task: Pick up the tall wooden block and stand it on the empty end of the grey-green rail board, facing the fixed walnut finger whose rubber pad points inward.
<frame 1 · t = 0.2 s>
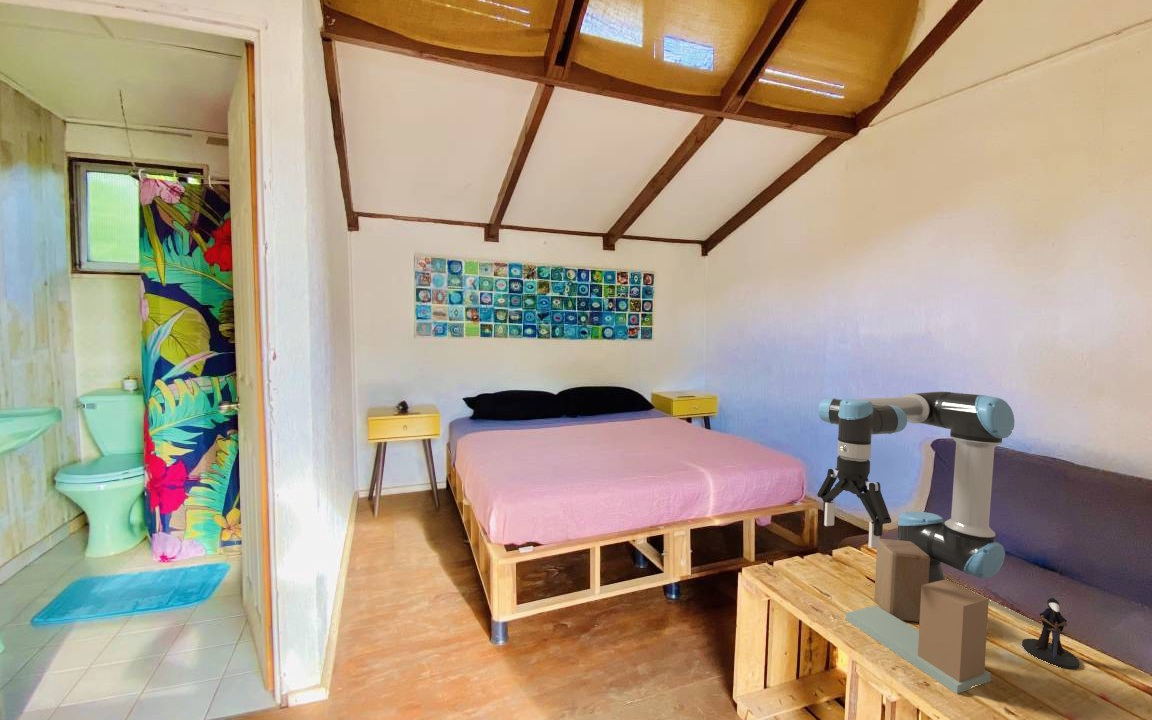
hand: (850, 535, 118), 28 cm above the table, fingers open, 13 cm apart
rail: (911, 647, 115), on the table
figurine: (1049, 655, 114), on the table
wooden block: (899, 612, 131), on the table
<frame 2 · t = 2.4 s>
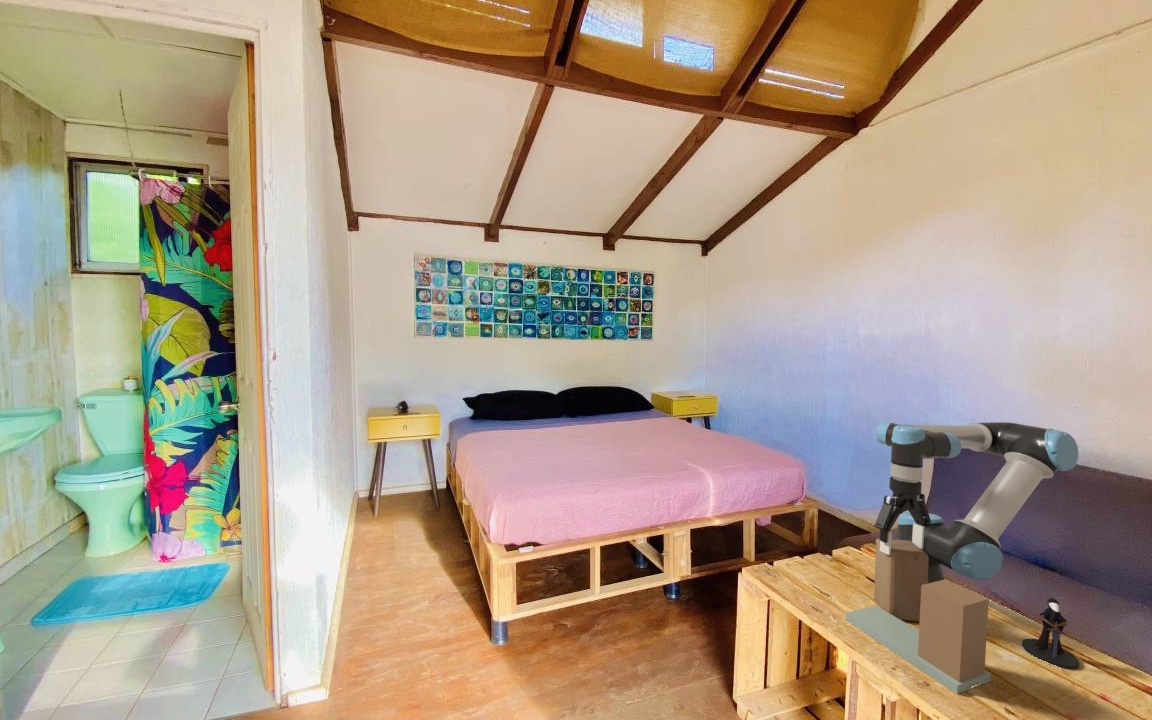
hand: (901, 549, 130), 19 cm above the table, fingers open, 13 cm apart
wooden block: (899, 612, 131), on the table, touching gripper
everything else where it was.
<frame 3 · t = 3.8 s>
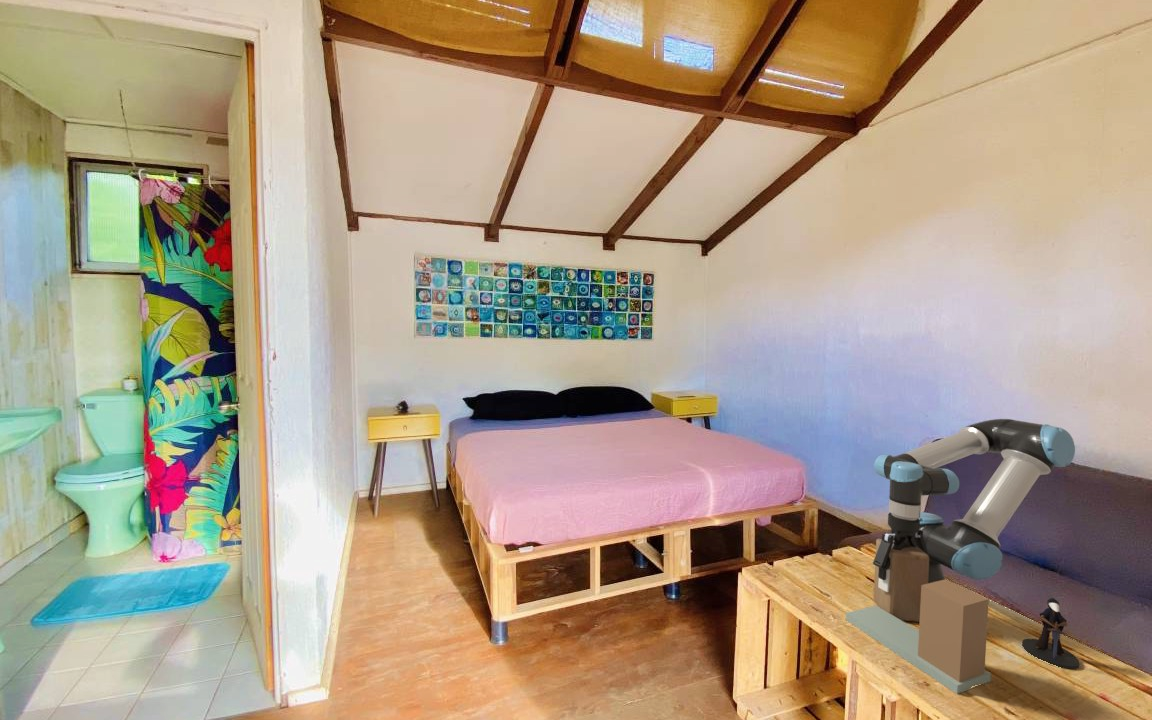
hand: (899, 586, 131), 8 cm above the table, fingers closed on wooden block, 13 cm apart
wooden block: (898, 612, 131), on the table, touching gripper
everything else where it was.
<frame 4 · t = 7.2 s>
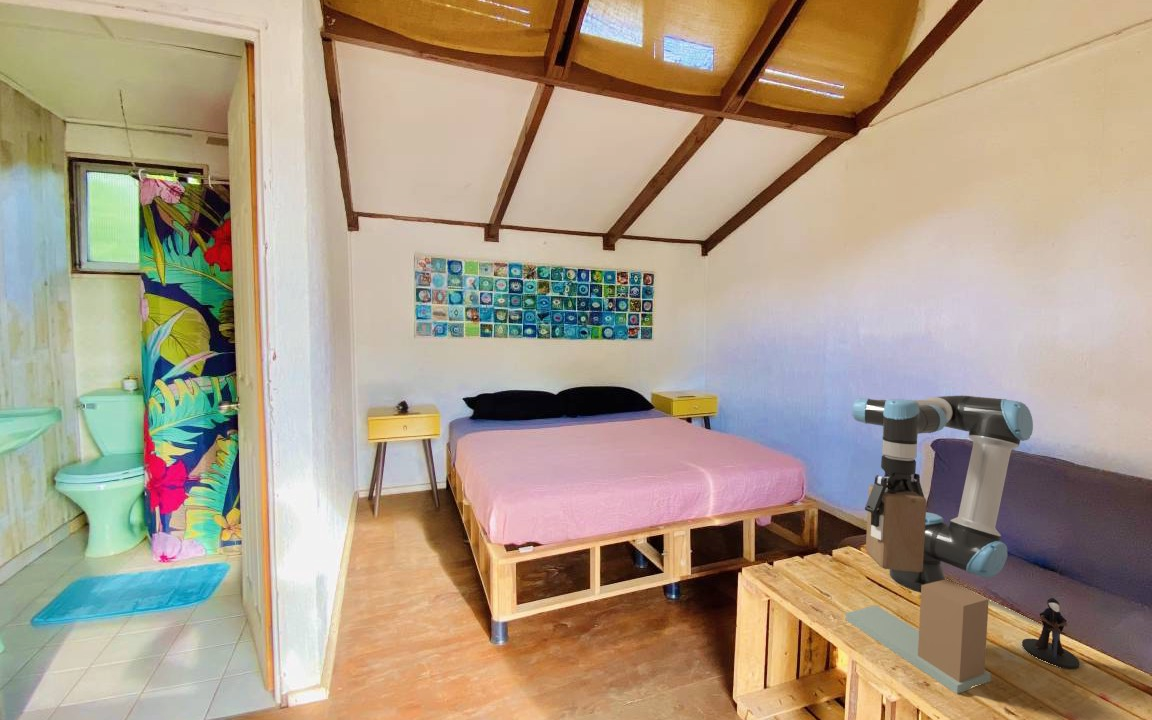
hand: (894, 534, 119), 28 cm above the table, fingers closed on wooden block, 13 cm apart
wooden block: (892, 563, 120), point 20 cm above the table, touching gripper
everything else where it was.
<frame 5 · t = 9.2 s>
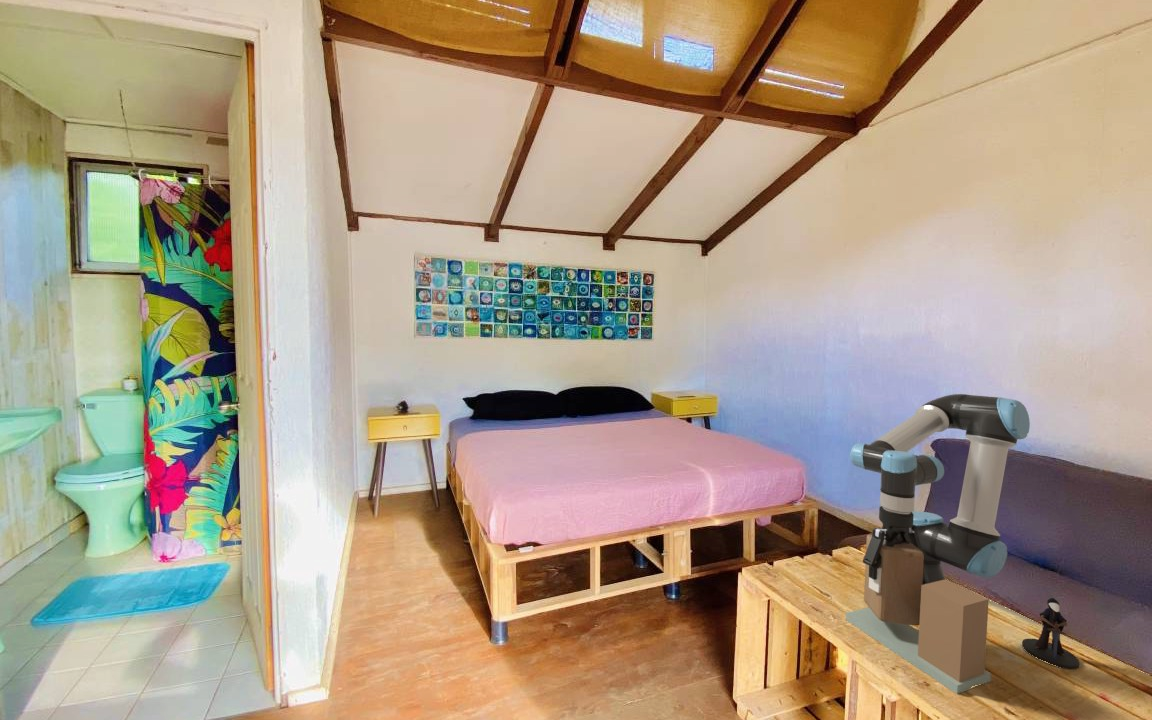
hand: (892, 586, 120), 14 cm above the table, fingers closed on wooden block, 13 cm apart
wooden block: (890, 614, 120), point 6 cm above the table, touching gripper
everything else where it was.
when the fingers open (11 cm above the table, at t = 10.5 s): wooden block drops 1 cm, resting on rail.
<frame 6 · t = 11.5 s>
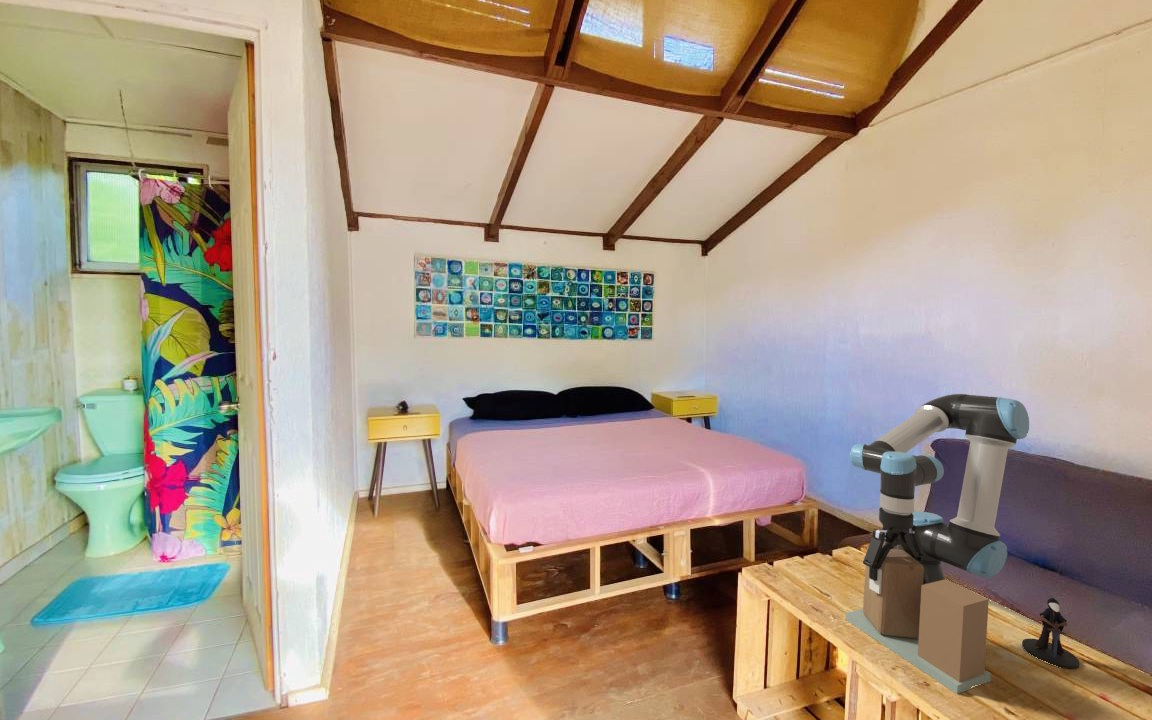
hand: (893, 586, 120), 13 cm above the table, fingers open, 13 cm apart
wooden block: (889, 627, 121), point 2 cm above the table, touching rail
everything else where it was.
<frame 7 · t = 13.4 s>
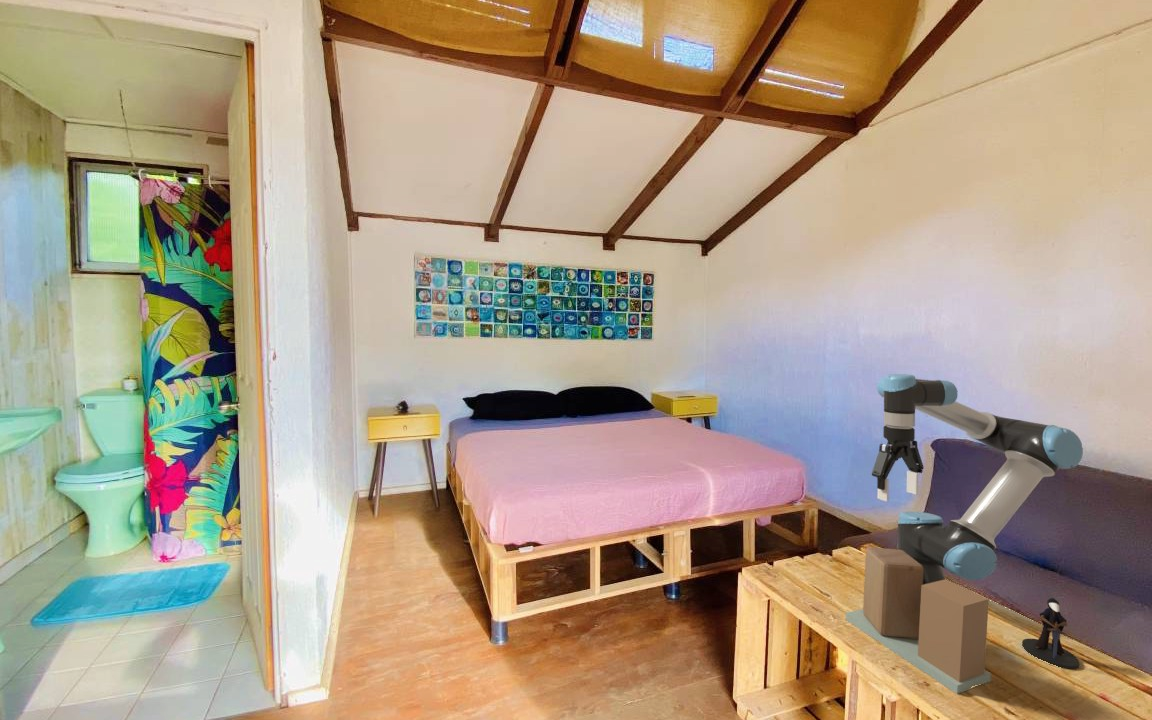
hand: (897, 496, 132), 34 cm above the table, fingers open, 13 cm apart
nothing on the table moved.
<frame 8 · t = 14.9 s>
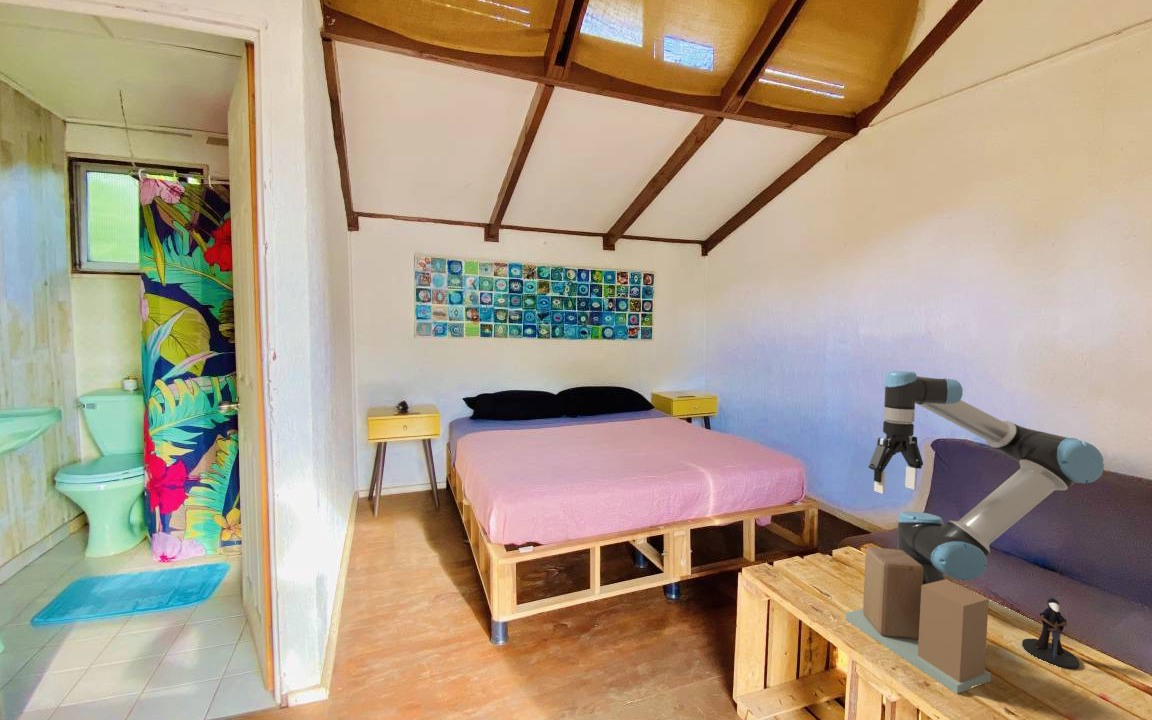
hand: (895, 490, 135), 35 cm above the table, fingers open, 13 cm apart
nothing on the table moved.
at the end: wooden block inside the target area on the rail (0.1 cm from its centre), point 1.8 cm above the rail's base; wooden block tilted 0°; the gripper is holding nothing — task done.
